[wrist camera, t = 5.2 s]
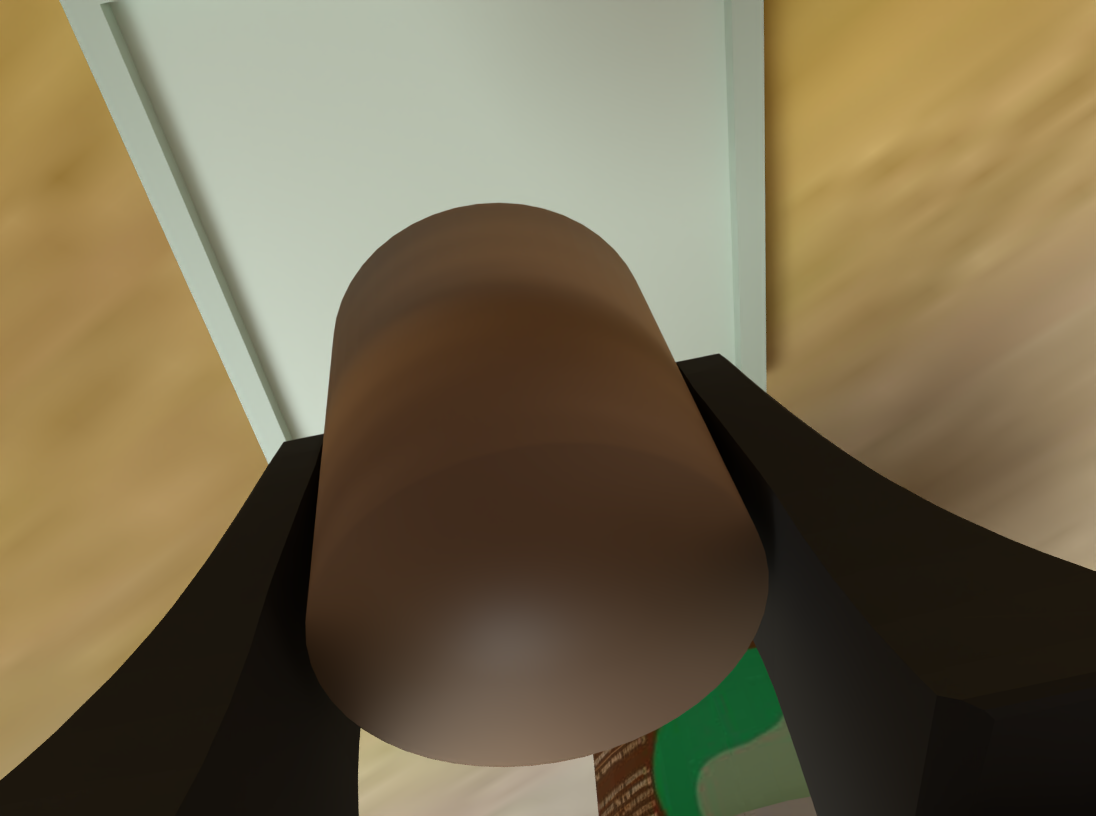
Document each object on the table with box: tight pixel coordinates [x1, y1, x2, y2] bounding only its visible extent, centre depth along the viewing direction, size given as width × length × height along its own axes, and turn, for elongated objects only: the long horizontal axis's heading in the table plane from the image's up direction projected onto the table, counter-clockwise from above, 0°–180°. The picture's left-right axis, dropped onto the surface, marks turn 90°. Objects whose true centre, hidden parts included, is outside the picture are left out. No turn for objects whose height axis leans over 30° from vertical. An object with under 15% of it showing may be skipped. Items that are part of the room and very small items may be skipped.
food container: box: [593, 640, 817, 816], centre depth 24 cm, size 12×6×10 cm, turn 64°
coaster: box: [60, 0, 766, 464], centre depth 19 cm, size 12×12×1 cm
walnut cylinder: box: [305, 203, 769, 767], centre depth 12 cm, size 5×5×6 cm
